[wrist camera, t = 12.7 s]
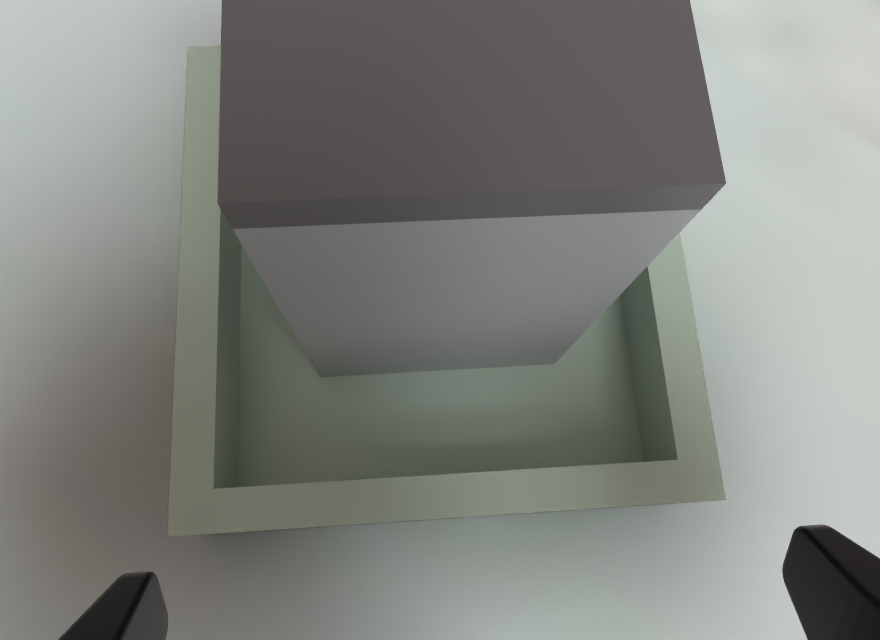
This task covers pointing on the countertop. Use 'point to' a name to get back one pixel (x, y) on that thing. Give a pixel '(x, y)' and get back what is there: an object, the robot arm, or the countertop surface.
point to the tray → (414, 399)
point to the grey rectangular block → (458, 168)
